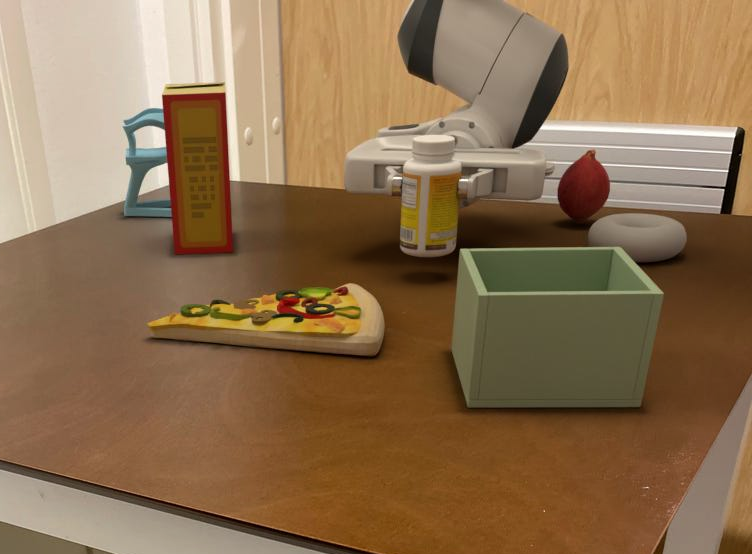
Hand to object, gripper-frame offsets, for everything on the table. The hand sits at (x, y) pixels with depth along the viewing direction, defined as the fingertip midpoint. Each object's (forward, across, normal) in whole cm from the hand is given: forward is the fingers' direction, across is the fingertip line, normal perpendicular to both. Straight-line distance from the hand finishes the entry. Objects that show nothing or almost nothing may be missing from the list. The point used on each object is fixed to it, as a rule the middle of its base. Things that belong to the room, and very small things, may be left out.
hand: (428, 188), depth 93 cm
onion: (-28, -12, -9) cm, 32 cm away
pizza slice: (+20, +10, -9) cm, 24 cm away
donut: (-15, -19, -9) cm, 26 cm away
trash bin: (+24, -15, -9) cm, 29 cm away
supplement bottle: (-1, 0, -6) cm, 6 cm away
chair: (-21, +40, -8) cm, 46 cm away
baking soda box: (-8, +28, -8) cm, 30 cm away
